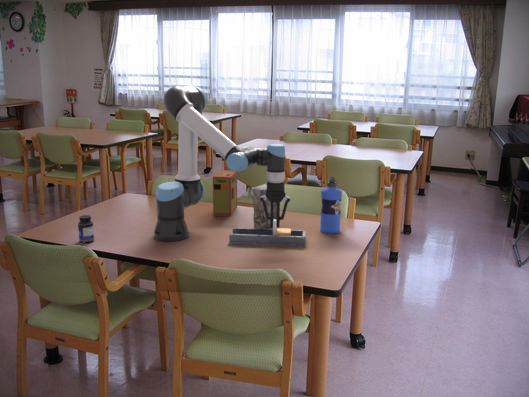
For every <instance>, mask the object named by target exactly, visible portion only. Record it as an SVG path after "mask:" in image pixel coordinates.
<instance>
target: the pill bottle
mask: <svg viewBox="0 0 529 397" xmlns="http://www.w3.org/2000/svg"><path fill="white" fill-rule="evenodd" d="M78 219H79V222H78V223H77V228H78V229H77V230H78V238H79V239H78V240H79V241H78V242H79V243H81V242H90V243H92V241H93V240H94V241H95V233H94V222H93V221H92V220H91V219H92V216H91V215H89V214H88V215H87V214H85V215H80V216H79V217H78ZM94 241H93V242H94Z"/></svg>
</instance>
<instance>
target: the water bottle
mask: <svg viewBox="0 0 529 397" xmlns="http://www.w3.org/2000/svg"><path fill="white" fill-rule="evenodd" d="M336 181H337V179H336V178H335V177H333V176H331V177H329V178H327V181H326V185H327V186H326V187H324V188H322V189H321V190H320V191H321V193H320V198H321V210H320V226H319V227H320V232H321V233H322V234H327V235H328V234H329V235H335V234H339V233H341V217H342V215H341V214H342V211H341V203H342V198H343V190H342V189H340V188H338V187H337V182H336Z"/></svg>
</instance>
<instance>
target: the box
mask: <svg viewBox="0 0 529 397" xmlns="http://www.w3.org/2000/svg"><path fill="white" fill-rule="evenodd" d="M212 205H213V208H212V211H213V213H212V214H213V216H215V217H217V216H218V217H232V216H233V214H234V213H235V211H236V210H237V209H238V172H233V171H231V170H230V169H228V170H227V169H226V170H225V169H224V170H221V169H220V170H218V172H216V173H215V174H214V175H213V176H212Z"/></svg>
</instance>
